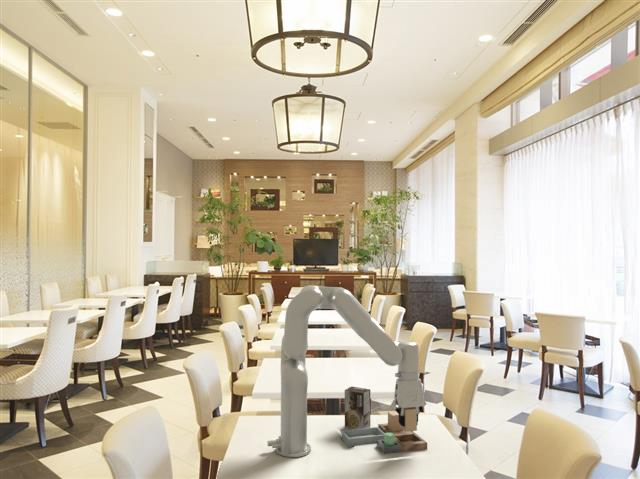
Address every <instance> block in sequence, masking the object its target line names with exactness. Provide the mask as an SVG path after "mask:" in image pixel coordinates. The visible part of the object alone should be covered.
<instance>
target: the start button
mask: <svg viewBox="0 0 640 479" xmlns="http://www.w3.org/2000/svg"><path fill="white" fill-rule="evenodd" d="M384 444H385V445H386V446H390V445H395V434H393V433H384Z"/></svg>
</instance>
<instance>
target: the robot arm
mask: <svg viewBox="0 0 640 479" xmlns="http://www.w3.org/2000/svg"><path fill="white" fill-rule="evenodd" d="M317 309H332V310H333V309H334V310H335V311H336V312H337V313H338V315H340V317H341V318H342V319H343V321H344V322H346V323H347V325H348V326H349V327H350V328H351V329H352V330H353V332H354V333H355V334H356V335H357V336H358V337H359V338H361V339H362V340H363V341H365V343H367V345H369V347H370V348H371V349H372V350H373V351H374V352H375V353H376V354H377V356H378V358H379V359H381V361H383V362H384V364H386V366H391V367H395V366H396V367H397V372H396V373H394V376H395V378H396V381H395V385H394V386H395V387H394V399H393V400H392V402H391V404H390V406H389V407H390V408H392V410H393V411H396V412H397V413H398V414H399V423H400V425H402V426H403V427H404V426H405V416H404V410H405V408H413V407H415V408H416V409H417V426H418V425H419V424H418V422H419V415H420V412H421V411H422V409H424V407H425V406H426V405H427V402H426V401H425V399H424V392H423V391H424V390H423V383H422V379H421V378H419V376H420V375H419V373H420V372H419V370H420V368H419V364H420V363H419V353H420V352H419V344H418V343H417V342H414V341H409V340H408V341H407V340H405V341H395V340H393V339H392V338H391V336H390V335H389V334H388V333H387V332H386V331H385V330H384V329H383V328H382V326H381V325H379V323H378V321H377V320H376V319H375V318H374V317H373V316H372V315H371V314H370V313H369V311H368V310H367V309H366V308H365V306H363V305H362V304H361V303H360V301H359V300H358V299H357V298H356V297H355V296H354V295H353V293H352V292H350V290H348V289H345V288H344V287H337V286H324V285H312V284H309V285H306V286H303V287H302V288H301V290H300V292H299V293H298V294H296V295H295V296H294V297H293V298H292V299H291V300H290V302H289V303H288V305H287V307H286V311H285V318H284V330H283V331H284V332H283V333H284V334H283V336H282V338H281V346H280V348H281V349H280V435H279V436H278V438H277V439H275V440H272V439H271V440H267V447H272V449H275V451H276V453H277V454H279V455H280V456H283V457H286V458H300V457H303V456H306V455H309V454H310V453H311V451H312V447H311V444H309V443H308V440H307V438H308V436H307V435H308V434H307V433H308V432H307V430H308V428H307V427H308V415H307V414H308V406H307V405H308V386H309V377H308V376H309V375H308V371H307V369H306V357H307V356H306V354H307V351H308V347H309V344H308V328H309V319H310V316H311V314H312V312H314V311H315V310H317Z"/></svg>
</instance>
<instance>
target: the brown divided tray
mask: <svg viewBox="0 0 640 479" xmlns="http://www.w3.org/2000/svg"><path fill="white" fill-rule="evenodd" d="M377 427H378V428H379V429H380V430H382V431H383V432H384V433H393V434H395V440H397V441H398V442H399V443H400V444H401V445H402V452H401V453H403V452H413V451H421V450H427V449H428V441H426V440H425V439H424V438H422V437H421V436H420V435H418V434H416V432H415V431H409V432H405V431H404V430H403V431H396V432H389V431H388V422H387V423H380V424H377Z"/></svg>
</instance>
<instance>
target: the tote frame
mask: <svg viewBox="0 0 640 479" xmlns="http://www.w3.org/2000/svg"><path fill="white" fill-rule="evenodd" d="M340 432H341V433H340V439H341V440H342V441H343V442H344V444H345V445H346V446H347V448H352V447H354V445H362V444H370V443H372V444H373V443H377V440H383V439H384V432H383V431H382V430H380V429H379V428H378V426H375V427H370V428H362V429H344V430H340ZM374 434H375V435H374ZM376 434H377V435H376ZM364 435H369V436H364ZM355 436H356V437H355ZM357 436H358V437H357Z"/></svg>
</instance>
